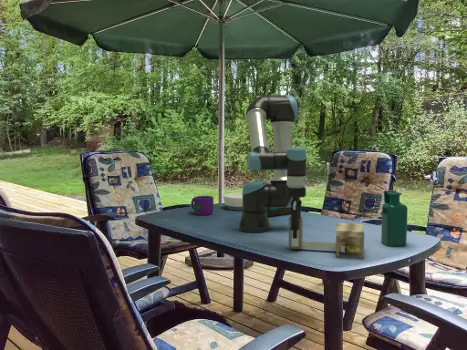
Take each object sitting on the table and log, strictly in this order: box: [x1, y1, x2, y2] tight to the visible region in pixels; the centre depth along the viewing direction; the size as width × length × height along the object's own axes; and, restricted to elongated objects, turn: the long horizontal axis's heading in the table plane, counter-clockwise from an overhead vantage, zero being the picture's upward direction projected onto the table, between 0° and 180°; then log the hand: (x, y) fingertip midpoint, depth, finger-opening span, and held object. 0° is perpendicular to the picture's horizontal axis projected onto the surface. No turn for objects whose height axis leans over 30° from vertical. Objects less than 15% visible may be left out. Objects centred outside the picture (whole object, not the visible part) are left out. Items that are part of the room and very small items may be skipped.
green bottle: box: [380, 189, 409, 248], centre depth 182 cm, size 10×8×22 cm
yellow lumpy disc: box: [345, 245, 360, 256], centre depth 169 cm, size 6×6×2 cm
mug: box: [190, 195, 214, 216], centre depth 254 cm, size 17×11×10 cm, turn 43°
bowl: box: [222, 192, 243, 212], centre depth 270 cm, size 22×22×8 cm
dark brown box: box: [266, 207, 291, 218], centre depth 246 cm, size 11×7×30 cm
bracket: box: [288, 215, 346, 254], centre depth 172 cm, size 22×7×12 cm, turn 75°
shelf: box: [335, 222, 365, 260], centre depth 169 cm, size 10×15×10 cm, turn 166°
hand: (295, 244), depth 174 cm, fingers closed on bracket, 5 cm apart
